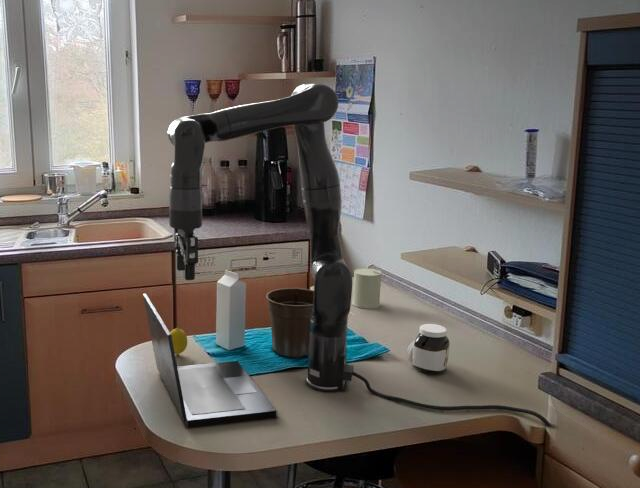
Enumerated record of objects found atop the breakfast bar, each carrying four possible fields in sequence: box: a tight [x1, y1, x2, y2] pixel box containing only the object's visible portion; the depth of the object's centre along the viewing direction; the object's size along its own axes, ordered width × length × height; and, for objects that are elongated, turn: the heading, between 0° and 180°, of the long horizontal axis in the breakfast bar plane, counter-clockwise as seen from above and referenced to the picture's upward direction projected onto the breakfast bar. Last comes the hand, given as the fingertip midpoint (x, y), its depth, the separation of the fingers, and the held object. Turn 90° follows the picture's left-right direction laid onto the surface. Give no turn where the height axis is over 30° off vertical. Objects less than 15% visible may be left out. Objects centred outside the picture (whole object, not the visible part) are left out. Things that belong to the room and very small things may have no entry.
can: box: [351, 267, 383, 310], centre depth 249 cm, size 9×9×12 cm
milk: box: [215, 269, 247, 351], centre depth 210 cm, size 6×6×22 cm
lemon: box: [169, 327, 188, 356], centre depth 204 cm, size 6×6×8 cm
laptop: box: [177, 360, 278, 429], centre depth 180 cm, size 21×30×2 cm
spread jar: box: [406, 323, 450, 375], centre depth 198 cm, size 12×11×12 cm
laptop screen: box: [142, 292, 187, 422], centre depth 175 cm, size 21×30×1 cm
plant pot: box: [265, 287, 314, 358], centre depth 208 cm, size 16×16×16 cm
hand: (185, 274), depth 172 cm, fingers open, 8 cm apart
